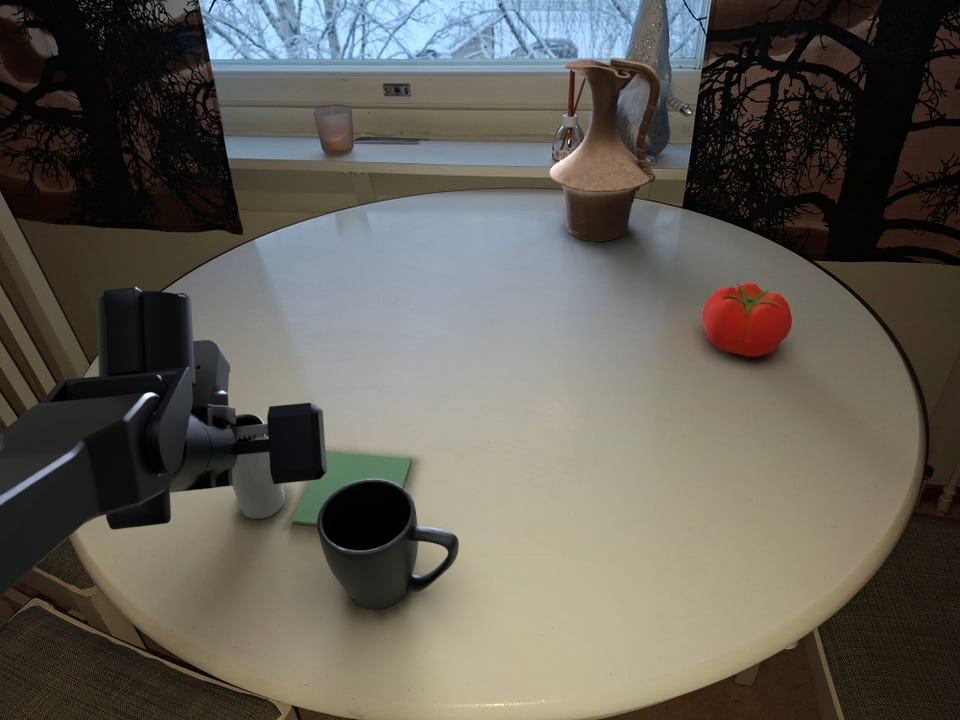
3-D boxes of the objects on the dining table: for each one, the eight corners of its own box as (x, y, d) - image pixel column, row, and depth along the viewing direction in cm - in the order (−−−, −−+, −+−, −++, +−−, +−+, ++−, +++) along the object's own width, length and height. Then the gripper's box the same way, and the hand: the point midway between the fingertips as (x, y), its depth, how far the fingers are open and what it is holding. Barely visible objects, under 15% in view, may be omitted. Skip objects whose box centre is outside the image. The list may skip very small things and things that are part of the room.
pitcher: (656, 215, 123) (679, 49, 106) (637, 258, 110) (659, 77, 94) (563, 203, 128) (570, 43, 112) (534, 242, 116) (537, 68, 99)
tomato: (795, 339, 91) (810, 290, 86) (760, 377, 84) (774, 327, 80) (721, 311, 97) (731, 265, 92) (683, 346, 90) (691, 298, 86)
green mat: (388, 533, 67) (388, 530, 66) (292, 523, 68) (291, 520, 68) (411, 460, 75) (411, 458, 74) (325, 453, 76) (324, 450, 76)
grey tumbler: (250, 527, 68) (224, 452, 62) (234, 499, 71) (207, 426, 65) (292, 505, 70) (271, 431, 64) (275, 480, 73) (253, 407, 67)
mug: (443, 648, 57) (435, 578, 51) (317, 608, 60) (297, 539, 55) (475, 569, 63) (471, 499, 57) (360, 537, 66) (345, 469, 61)
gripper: (297, 325, 49) (331, 357, 64) (27, 349, 47) (128, 376, 63) (308, 481, 47) (340, 476, 63) (29, 510, 46) (132, 497, 61)
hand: (235, 453), depth 62 cm, fingers open, 9 cm apart
